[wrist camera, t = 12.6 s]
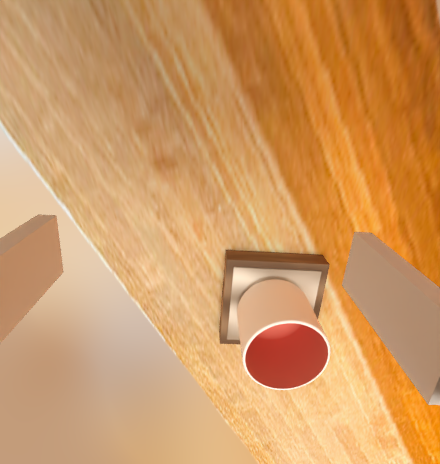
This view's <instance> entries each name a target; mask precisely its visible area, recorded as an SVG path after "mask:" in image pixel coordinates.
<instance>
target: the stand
mask: <svg viewBox="0 0 440 464" xmlns="http://www.w3.org/2000/svg"><path fill="white" fill-rule="evenodd" d="M328 269H329V263H328V262H327V261H326V259H325V258H324V257H323V255H311V254H291V253H272V252H252V251H233V250H226V256H225V268H224V280H223V293H222V305H221V317H220V330H219V332H220V343H221V344H240V335H239V327H238V319H237V308H238V304H239V301H240V299H241V297H242V296H243V294H244V293H245V292H246V291H247V290H248V289H249V288H250V287H252V286H253V285H255V284H257V283H259V282H262V281H265V280H271V279H279V280H284V281H288V282H290V283H293V284H294V285H296V286H297V287H299V288H300V289H301V290H302V291H303V292H304V294H305V295H306V297H307V299H308V301H309V303H310V305H311V307H312V309H313V311H314V313H315V315H316V317H317V319H318V316H319V311H320V307H321V302H322V297H323V293H324V288H325V283H326V279H327V274H328Z"/></svg>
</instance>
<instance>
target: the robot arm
mask: <svg viewBox="0 0 440 464" xmlns="http://www.w3.org/2000/svg"><path fill="white" fill-rule="evenodd" d="M62 273H63V266H62V257H61V249H60V241H59V233H58V225H57V218H56V216H55V215H37V216H35V217H34V218H32V219H30V220H29V221H27V222H26V223H24V224H22V225H21V226H19V227H18V228H16V229H15V230H13V231H11V232H10V233H8V234H7V235H5V236H4V237H2V238H0V343H1V342H2V341H3V340H4V339H5V338H6V336H7V335H8V334H9V333H10V332H11V331H12V329H14V327H15V326H16V325H17V324H18V323H19V321H21V320H22V318H23V317H24V316H25V315H26V314H27V313H28V312H29V310H30V309H31V308H32V307H33V306H34V305H35V304H36V302H37V301H38V300H39V299H40V298H41V297H42V296H43V295H44V294H45V292H46V291H47V290H48V289H49V288H50V287H51V285H52V284H53V283H54V282H55V281H56V280H57V279H58V278H59V276H60V275H61V274H62ZM342 286H343V287H344V289H345V290H346V291H347V293H348V294H349V296H350V297H351V298H352V300H353V301H354V302H355V304H356V305H357V307H358V308H359V309H360V311H361V312H362V314H363V315H364V316H365V318H366V319H367V320H368V322H369V323H370V325H371V326H372V327H373V329H374V330H375V332H376V333H377V334H378V336H379V337H380V338H381V340H382V341H383V343H384V344H385V345H386V347H387V348H388V350H389V351H390V352H391V354H392V355H393V356H394V358H395V359H396V361H397V362H398V363H399V365H400V366H401V368H402V369H403V370H404V372H405V373H406V374H407V376H408V377H409V379H410V380H411V381H412V383H413V384H414V386H415V387H416V388H417V390H418V391H419V392H420V394H421V395H422V397H423V398H424V399H425V401H426V402H427V404H428V405H440V287H438V286H437V285H436V284H434V283H433V282H432V281H431V280H429V279H428V278H427V277H426V276H424V275H423V274H422V273H421V272H419V271H418V270H417V269H416V268H414V267H413V266H412V265H411V264H409V263H408V262H407V261H406V260H404V259H403V258H402V257H401V256H399V255H398V254H397V253H396V252H394V251H393V250H392V249H391V248H389V247H388V246H387V245H386V244H385V243H383V242H382V241H381V240H380V239H378V238H377V237H376V236H375V235H373V234H372V233H365V232H354V237H353V241H352V245H351V249H350V254H349V258H348V262H347V266H346V271H345V275H344V279H343V283H342Z"/></svg>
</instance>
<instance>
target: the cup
mask: <svg viewBox="0 0 440 464" xmlns="http://www.w3.org/2000/svg"><path fill="white" fill-rule="evenodd" d="M237 319H238V327H239V335H240V344H241V352H242V360H243V365H244V368H245V370H246V372H247V374H248V375H249V376H250V378H251V379H253V380H254V381H255V382H256V383H258V384H260V385H262V386H264V387H267V388H270V389H276V390H289V389H295V388H299V387H302V386H304V385H306V384H308V383H310V382H312V381H313V380H315V379H316V378H317V377H318V376H319V375H320V374H321V373H322V372H323V371H324V369H325V368H326V366H327V364H328V362H329V358H330V345H329V342H328V339H327V337H326V335H325V333H324V331H323V329H322V327H321V325H320V323H319V321H318V319H317V317H316V315H315V313H314V311H313V309H312V307H311V305H310V303H309V301H308V299H307V297H306V295H305V294H304V292H303V291H302V290H301V289H300V288H299V287H297V286H296V285H294V284H293V283H290V282H288V281H284V280H279V279H271V280H265V281H262V282H259V283H257V284H255V285H253V286H252V287H250V288H249V289H248V290H247V291H246V292H245V293H244V294H243V296H242V297H241V299H240V301H239V304H238V308H237Z"/></svg>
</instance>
